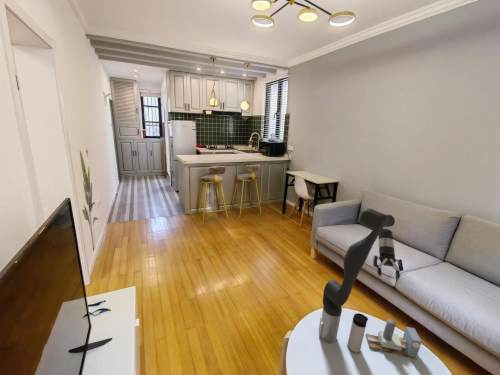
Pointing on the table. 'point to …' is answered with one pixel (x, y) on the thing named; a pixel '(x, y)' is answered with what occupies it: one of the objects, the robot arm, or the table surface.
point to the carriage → (389, 336)
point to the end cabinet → (411, 341)
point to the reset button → (402, 341)
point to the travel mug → (357, 332)
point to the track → (375, 344)
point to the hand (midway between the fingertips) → (388, 277)
